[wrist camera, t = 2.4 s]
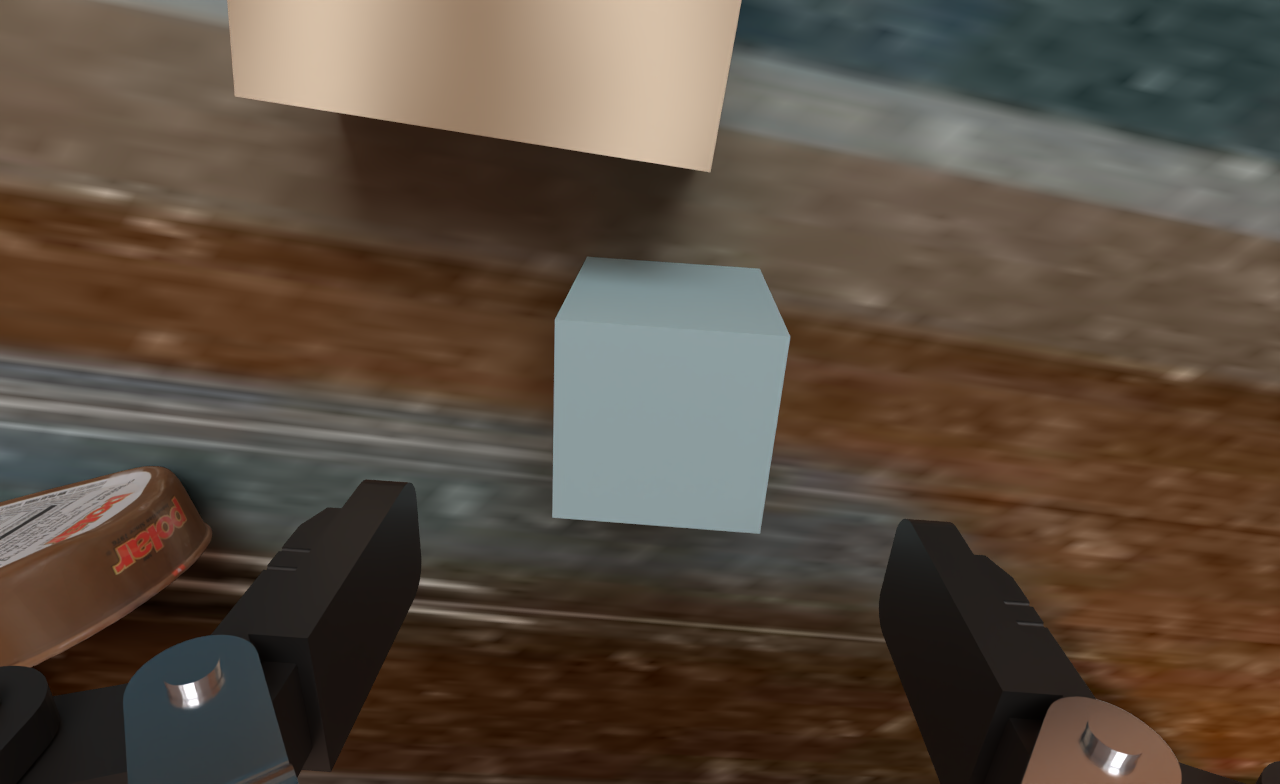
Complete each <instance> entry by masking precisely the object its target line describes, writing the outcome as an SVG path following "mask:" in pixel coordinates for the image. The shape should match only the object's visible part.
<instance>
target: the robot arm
mask: <svg viewBox="0 0 1280 784" xmlns="http://www.w3.org/2000/svg"><path fill="white" fill-rule="evenodd" d="M420 574H421V549H420V537H419V524H418V512H417V500H416V492H415V488H414V486H413V484H412V483H407V482H393V481H379V480H364V481H362V482H361V484H360V485H359V486H358V487H357V489H356V490H355V491H354V493H353V494H352V495H351V497H350V498H349V499H348V501H347V502H346V503H345V505H344V506H343V507H342V508H326V509H325V510H323V511H322V512H320V513H318V514H317V515H315V516H314V517H312V518H311V519H309V520H307V521H306V522H304V523H303V524H301V525H300V526H299V527H298V528H297V530H296V531H295V532H294V533H293V534H292V536H291V537H290V538H289V539H288V541H287V542H286V543H285V544H284V546H283V547H282V551H279V552H278V553H277V554H276V555H275V557H274V558H273V559H272V560H271V562H270V563H269V564H268V567H267V570H263V571H262V573H261V574H260V575H259V576H258V578H257V579H256V580H255V581H254V582H253V584H252V585H251V586H250V587H249V589H248V590H247V591H246V592H245V594H244V595H243V596H242V597H241V598H240V600H239V601H238V602H237V603H236V605H235V606H234V607H233V608H232V610H231V611H230V612H229V613H228V614H227V616H226V617H225V618H224V619H223V621H222V622H221V623H220V624H219V626H218V627H217V628H216V629H215V630H214V632H213V633H212V634H211V635H210V636H204V637H198V638H195V639H191V640H188V641H185V642H182V643H180V644H177V645H175V646H173V647H171V648H169V649H167V650H165V651H163V652H161V653H160V654H158V655H156V656H155V657H153V658H152V659H151V660H149V661H148V662H147V663H146V664H144V665H143V666H142V667H141V668H140V669H139V670H138V671H137V672H136V673H135V675H134V676H133V677H132V678H131V680H130V682H129V683H127V684H122V685H117V686H111V687H105V688H99V689H93V690H88V691H82V692H76V693H70V694H64V695H58V696H52V694H51V691H50V689H49V686H48V683H47V681H46V678H45V676H44V675H43V674H42V673H41V672H39V671H37V670H36V669H33V668H30V667H25V666H2V667H0V784H298V781H297V777H298V775H299V773H300V771H301V770H312V771H326V772H331V771H332V768H333V766H334V764H335V762H336V760H337V758H338V756H339V754H340V752H341V750H342V748H343V746H344V743H345V741H346V739H347V737H348V735H349V733H350V731H351V729H352V727H353V725H354V723H355V721H356V719H357V716H358V714H359V712H360V710H361V708H362V706H363V704H364V702H365V700H366V698H367V696H368V694H369V692H370V689H371V687H372V685H373V683H374V681H375V679H376V677H377V675H378V673H379V671H380V669H381V667H382V665H383V662H384V660H385V658H386V656H387V654H388V652H389V650H390V648H391V646H392V644H393V642H394V640H395V637H396V635H397V633H398V631H399V629H400V627H401V625H402V623H403V621H404V619H405V617H406V615H407V613H408V610H409V608H410V606H411V604H412V602H413V600H414V598H415V595H416V592H417V589H418V585H419V581H420ZM879 618H880V625H881V629H882V633H883V636H884V638H885V641H886V643H887V646H888V649H889V651H890V654H891V656H892V659H893V662H894V664H895V667H896V669H897V672H898V675H899V677H900V680H901V682H902V685H903V688H904V690H905V693H906V695H907V698H908V700H909V703H910V706H911V708H912V711H913V713H914V716H915V719H916V721H917V724H918V726H919V729H920V732H921V734H922V737H923V739H924V742H925V745H926V747H927V750H928V752H929V755H930V757H931V760H932V763H933V765H934V768H935V770H936V773H937V776H938V778H939V781H940V783H941V784H1244V783H1241V782H1238V781H1235V780H1232V779H1229V778H1225V777H1222V776H1219V775H1216V774H1213V773H1210V772H1207V771H1204V770H1200V769H1197V768H1194V767H1191V766H1188V765H1185V764H1182V763H1180V762H1178V761H1177V759H1176V757H1175V755H1174V753H1173V752H1172V750H1171V749H1170V747H1169V746H1168V745H1167V744H1166V743H1165V741H1164V740H1163V739H1162V738H1161V737H1160V736H1159V735H1158V734H1157V733H1156V732H1155V731H1153V730H1152V729H1151V728H1150V727H1149V726H1147V725H1146V724H1145V723H1143V722H1142V721H1141V720H1139V719H1138V718H1136V717H1135V716H1133V715H1131V714H1130V713H1128V712H1126V711H1124V710H1122V709H1120V708H1118V707H1116V706H1114V705H1111V704H1109V703H1106V702H1103V701H1100V700H1096V698H1095V697H1094V695H1093V694H1092V693H1091V691H1090V690H1089V688H1088V687H1087V685H1086V684H1085V682H1084V681H1083V679H1082V678H1081V677H1080V675H1079V674H1078V672H1077V671H1076V669H1075V668H1074V666H1073V665H1072V663H1071V662H1070V660H1069V659H1068V658H1067V656H1066V655H1065V653H1064V652H1063V650H1062V649H1061V647H1060V646H1059V644H1058V643H1057V642H1056V640H1055V639H1054V637H1053V636H1052V634H1051V633H1050V631H1049V630H1048V628H1044V627H1043V621H1042V620H1041V618H1040V617H1039V615H1038V614H1037V612H1036V611H1035V609H1034V608H1033V607H1030V606H1029V601H1028V599H1027V598H1026V596H1025V595H1024V593H1023V592H1022V591H1021V589H1020V588H1019V586H1018V585H1017V583H1016V582H1015V580H1014V579H1013V577H1011V576H1010V575H1009V574H1008V573H1006V572H1005V571H1004V570H1003V569H1001V568H1000V567H999V566H998V565H996V564H995V563H994V562H993V561H991V560H990V559H989V558H988V557H986V556H984V555H974V554H973V553H972V551H971V550H970V548H969V547H968V545H967V543H966V542H965V540H964V539H963V537H962V536H961V534H960V532H959V531H958V529H957V528H956V526H955V525H954V524H953V523H951V522H940V521H926V520H912V519H903V520H902V521H901V522H900V523H899V525H898V527H897V530H896V534H895V538H894V542H893V546H892V549H891V553H890V557H889V561H888V565H887V569H886V573H885V577H884V581H883V585H882V589H881V593H880V600H879ZM1255 784H1280V761H1278V762H1274V763H1272V764H1269V765H1268V766H1267V767H1266V768H1265V769H1264V770H1263V772H1262V773H1261V775H1260V777H1259V778H1258V780H1257V782H1256V783H1255Z"/></svg>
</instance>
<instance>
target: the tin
mask: <svg viewBox="0 0 1280 784" xmlns="http://www.w3.org/2000/svg"><path fill="white" fill-rule="evenodd" d="M211 538H212V530H211V527H210V526H209V525H208V524H207V523H205V522H203V520H202V518H201V517H200V515H199V513H198V511H197V509H196V508H195V506H194V504H193V502H192V501H191V499H190V497H189V495H188V494H187V492H186V490H185V488H184V487H183V485H182V484H181V482H180V480H179V479H178V478H177V477H176V475H175V474H174V473H173V472H171V471H170V470H169V469H167V468H164V467H159V466H146V467H139V468H134V469H129V470H125V471H121V472H117V473H113V474H109V475H105V476H101V477H97V478H93V479H89V480H85V481H81V482H77V483H73V484H69V485H65V486H61V487H57V488H53V489H49V490H45V491H41V492H37V493H34V494H30V495H26V496H22V497H19V498H15V499H11V500H7V501H4V502H0V667H2V666H25V667H33V666H35V665H38V664H39V663H41V662H43V661H45V660H47V659H49V658H51V657H53V656H55V655H58V654H60V653H62V652H64V651H65V650H67V649H69V648H71V647H73V646H75V645H76V644H78V643H80V642H82V641H84V640H86V639H88V638H89V637H91V636H93V635H94V634H96V633H98V632H99V631H101V630H103V629H104V628H106V627H108V626H109V625H111V624H113V623H115V622H116V621H118V620H119V619H121V618H122V617H124V616H126V615H127V614H129V613H130V612H132V611H133V610H134V609H136V608H137V607H139V606H140V605H142V604H143V603H145V602H146V601H148V600H149V599H150V598H151V597H153V596H155V595H156V594H158V593H159V592H160V591H161V590H163V589H164V588H166V587H167V586H168V585H170V584H171V583H172V582H173V581H175V580H176V579H177V578H178V577H179V576H180V575H181V574H182V573H184V572H185V571H186V570H187V569H189V567H190V566H191V565H193V564H194V563H195V562H196V560H197V559H198V558H199V557H200V556H201V555H202V553H203V552H204V551H205V549H206V548H207V546H208V545H209V543H210V541H211Z"/></svg>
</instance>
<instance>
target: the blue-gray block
mask: <svg viewBox="0 0 1280 784" xmlns="http://www.w3.org/2000/svg"><path fill="white" fill-rule="evenodd" d="M789 342H790V335H789V333H788V331H787V328H786V326H785V324H784V322H783V319H782V317H781V315H780V313H779V311H778V308H777V306H776V304H775V302H774V299H773V297H772V295H771V293H770V291H769V288H768V286H767V284H766V282H765V280H764V277H763V275H762V273H761V271H760V269H755V268H741V267H726V266H712V265H698V264H684V263H670V262H656V261H641V260H627V259H613V258H599V257H587V258H586V260H585V262H584V264H583V266H582V268H581V270H580V272H579V273H578V275H577V277H576V279H575V281H574V283H573V285H572V287H571V289H570V291H569V293H568V295H567V297H566V299H565V301H564V303H563V305H562V307H561V309H560V311H559V313H558V314H557V316H556V318H555V352H554V432H553V511H552V518H565V519H578V520H591V521H603V522H616V523H629V524H642V525H655V526H668V527H681V528H693V529H706V530H719V531H732V532H745V533H758V534H760V529H761V523H762V516H763V510H764V503H765V497H766V490H767V484H768V478H769V471H770V465H771V458H772V452H773V445H774V439H775V432H776V426H777V419H778V413H779V406H780V400H781V393H782V387H783V380H784V374H785V367H786V361H787V355H788V348H789Z"/></svg>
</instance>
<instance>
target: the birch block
mask: <svg viewBox="0 0 1280 784" xmlns="http://www.w3.org/2000/svg"><path fill="white" fill-rule="evenodd" d="M227 1H228V14H229V27H230V39H231V52H232V65H233V78H234V90H235V96H237V97H243V98H249V99H256V100H262V101H268V102H274V103H281V104H287V105H293V106H299V107H306V108H312V109H318V110H324V111H331V112H337V113H343V114H349V115H356V116H362V117H368V118H374V119H381V120H387V121H393V122H399V123H406V124H412V125H418V126H424V127H431V128H437V129H443V130H449V131H456V132H462V133H468V134H474V135H481V136H487V137H493V138H499V139H506V140H512V141H518V142H524V143H531V144H537V145H543V146H549V147H556V148H562V149H568V150H574V151H581V152H587V153H593V154H599V155H606V156H612V157H618V158H624V159H631V160H637V161H643V162H649V163H656V164H662V165H668V166H675V167H681V168H687V169H693V170H700V171H706V172H710V171H711V166H712V160H713V155H714V149H715V144H716V138H717V133H718V127H719V122H720V116H721V111H722V105H723V100H724V94H725V89H726V83H727V78H728V72H729V67H730V61H731V56H732V50H733V45H734V39H735V34H736V28H737V22H738V17H739V11H740V6H741V0H227Z"/></svg>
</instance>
